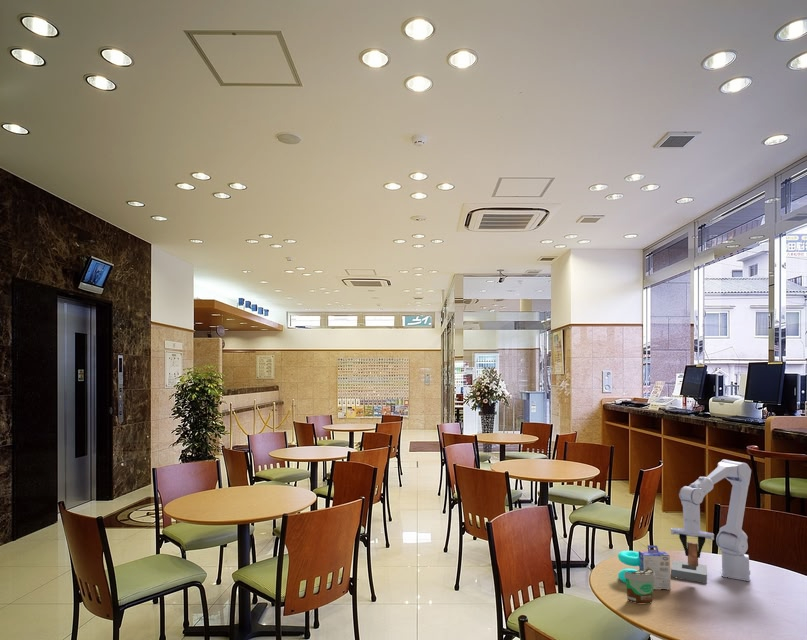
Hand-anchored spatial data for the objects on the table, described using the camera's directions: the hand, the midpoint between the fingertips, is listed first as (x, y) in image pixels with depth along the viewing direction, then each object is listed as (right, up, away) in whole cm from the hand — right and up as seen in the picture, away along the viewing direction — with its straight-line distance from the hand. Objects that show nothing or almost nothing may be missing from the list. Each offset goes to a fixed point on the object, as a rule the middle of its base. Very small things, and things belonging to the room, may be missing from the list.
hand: (692, 556), depth 214 cm
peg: (0, -3, 0) cm, 3 cm away
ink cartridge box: (-17, -9, -5) cm, 20 cm away
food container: (-26, -8, -18) cm, 33 cm away
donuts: (-23, -10, 0) cm, 25 cm away
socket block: (+2, -10, +7) cm, 13 cm away
